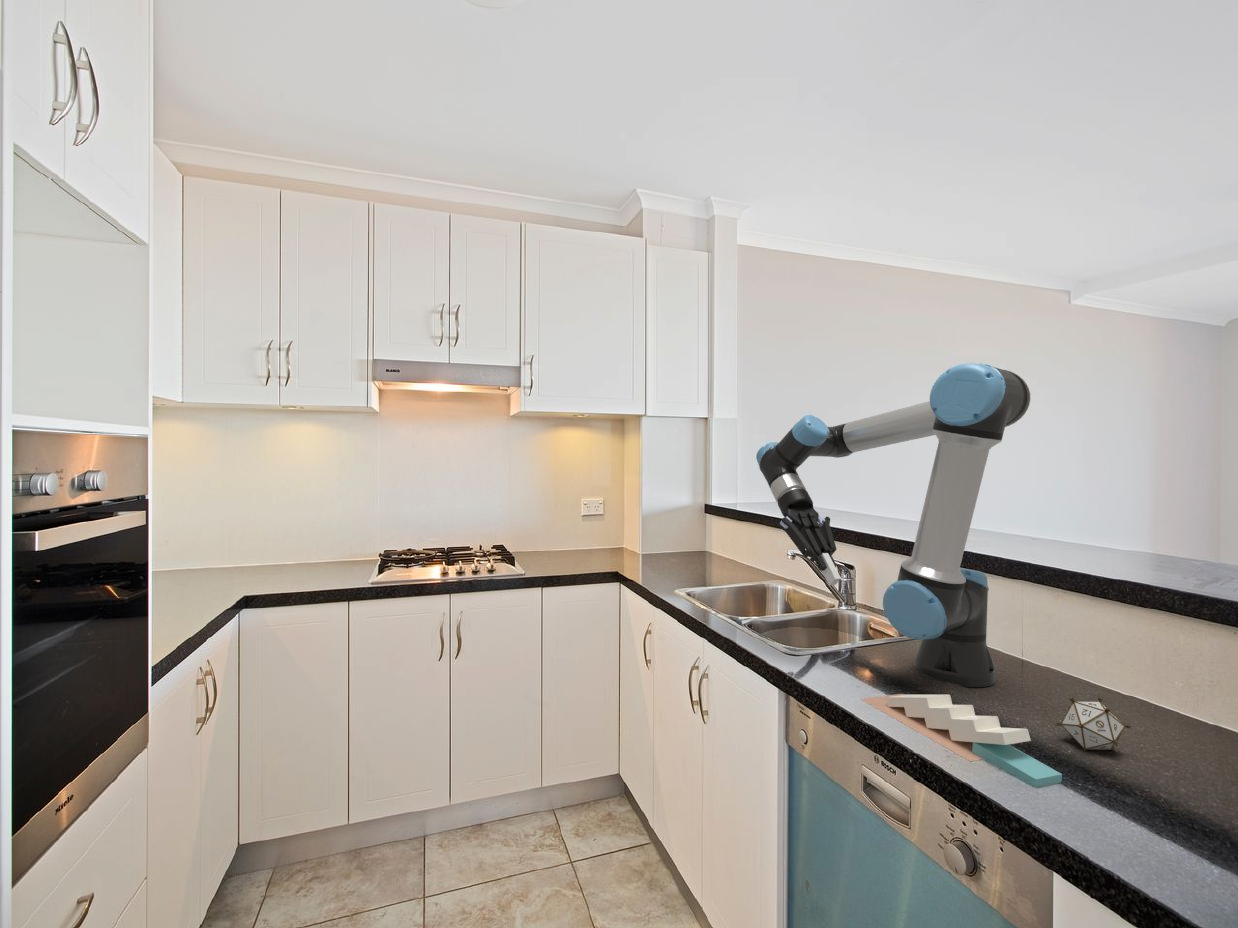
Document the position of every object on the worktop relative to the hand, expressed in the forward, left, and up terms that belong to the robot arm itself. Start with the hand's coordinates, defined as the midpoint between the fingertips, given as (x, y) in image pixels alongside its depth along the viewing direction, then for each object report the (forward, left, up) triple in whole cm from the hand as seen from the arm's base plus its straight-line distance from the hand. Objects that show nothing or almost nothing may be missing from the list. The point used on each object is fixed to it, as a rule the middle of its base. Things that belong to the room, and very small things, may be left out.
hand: (835, 581), depth 127 cm
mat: (-7, +26, -19) cm, 33 cm away
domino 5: (-9, +35, -18) cm, 41 cm away
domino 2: (-6, +22, -18) cm, 29 cm away
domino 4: (-8, +31, -18) cm, 37 cm away
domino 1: (-5, +18, -18) cm, 26 cm away
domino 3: (-7, +27, -18) cm, 33 cm away
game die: (-28, +34, -20) cm, 48 cm away
